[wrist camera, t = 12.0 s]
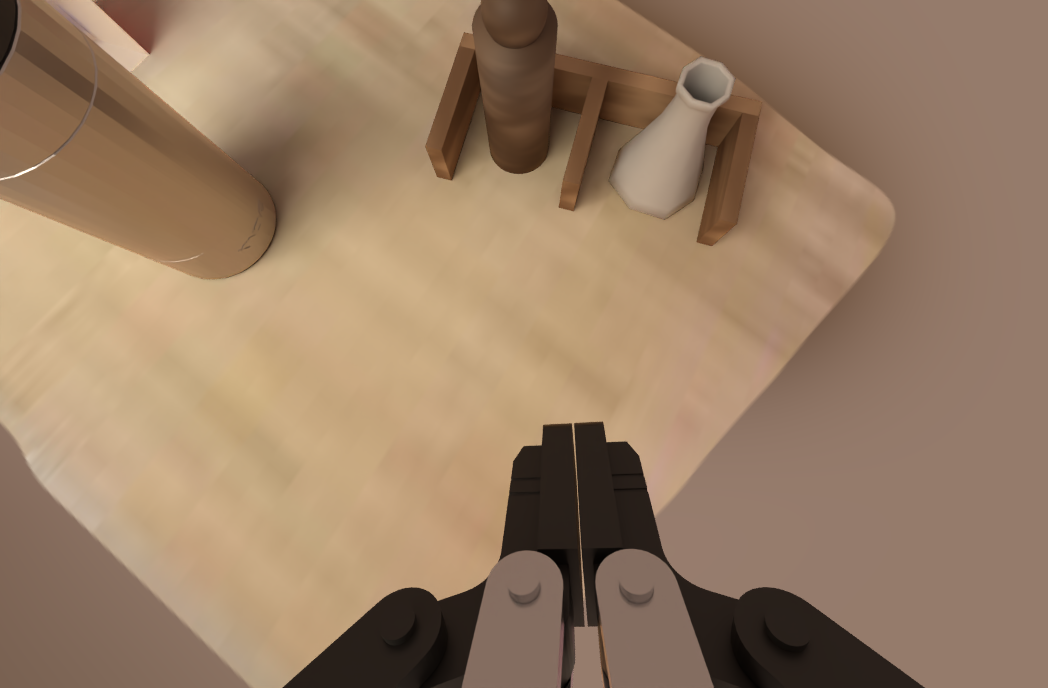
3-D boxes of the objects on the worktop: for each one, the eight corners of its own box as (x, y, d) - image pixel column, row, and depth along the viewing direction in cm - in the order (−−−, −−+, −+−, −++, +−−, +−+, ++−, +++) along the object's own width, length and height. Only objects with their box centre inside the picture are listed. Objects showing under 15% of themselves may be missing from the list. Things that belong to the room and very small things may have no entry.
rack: (437, 176, 34) (425, 146, 30) (471, 74, 36) (464, 32, 32) (711, 245, 33) (736, 223, 29) (735, 137, 34) (762, 101, 30)
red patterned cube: (91, 5, 37) (-26, -104, 29) (150, 55, 36) (47, -43, 28) (20, 66, 36) (-120, -29, 28) (79, 119, 35) (-48, 37, 28)
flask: (592, 184, 34) (618, 92, 24) (643, 120, 35) (690, 5, 25) (666, 236, 33) (725, 162, 23) (717, 169, 34) (794, 70, 24)
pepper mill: (482, 165, 34) (452, 3, 21) (498, 114, 35) (480, -75, 21) (539, 180, 34) (547, 25, 20) (554, 127, 35) (572, -55, 21)
